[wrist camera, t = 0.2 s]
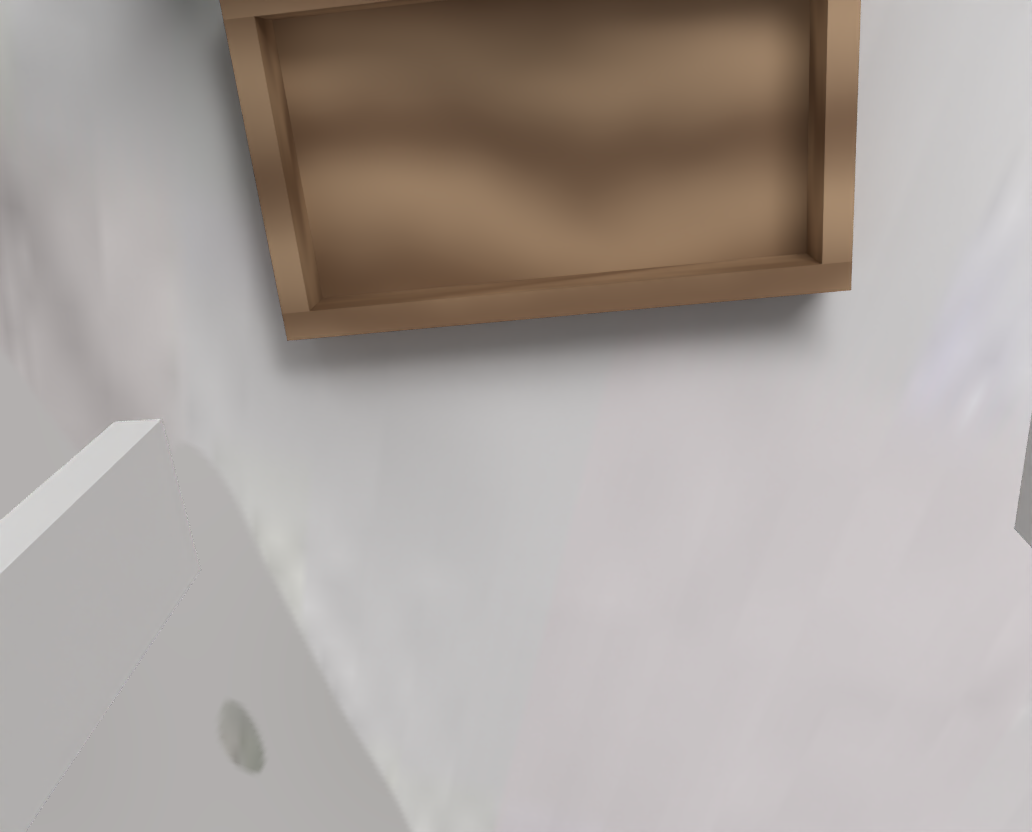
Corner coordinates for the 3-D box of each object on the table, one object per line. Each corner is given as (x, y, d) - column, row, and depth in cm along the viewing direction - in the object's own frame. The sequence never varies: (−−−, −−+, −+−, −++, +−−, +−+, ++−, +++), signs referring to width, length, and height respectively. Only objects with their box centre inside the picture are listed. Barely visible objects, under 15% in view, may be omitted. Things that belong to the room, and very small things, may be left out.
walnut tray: (242, -8, 36) (216, -15, 34) (838, -78, 35) (864, -91, 32) (305, 322, 41) (287, 340, 38) (829, 274, 40) (850, 290, 37)
